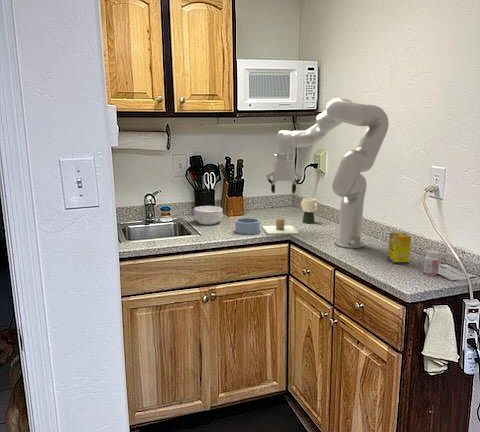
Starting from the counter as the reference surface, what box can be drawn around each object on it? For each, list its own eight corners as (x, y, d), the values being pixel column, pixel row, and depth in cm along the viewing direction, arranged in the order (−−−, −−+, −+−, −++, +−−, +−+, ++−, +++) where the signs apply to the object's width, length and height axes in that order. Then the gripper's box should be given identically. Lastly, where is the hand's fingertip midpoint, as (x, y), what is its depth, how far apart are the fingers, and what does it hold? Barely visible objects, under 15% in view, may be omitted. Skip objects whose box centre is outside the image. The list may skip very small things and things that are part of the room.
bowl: (261, 235, 212) (262, 223, 211) (236, 235, 211) (236, 223, 210) (257, 229, 224) (258, 217, 223) (233, 229, 223) (234, 218, 222)
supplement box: (387, 259, 177) (389, 232, 174) (402, 259, 177) (404, 232, 175) (393, 264, 171) (395, 236, 169) (408, 264, 171) (411, 236, 169)
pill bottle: (433, 277, 157) (435, 254, 155) (420, 273, 160) (422, 250, 159) (440, 274, 159) (443, 251, 158) (428, 271, 163) (430, 248, 161)
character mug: (320, 224, 238) (322, 199, 235) (312, 226, 233) (313, 201, 230) (304, 220, 245) (305, 197, 243) (296, 222, 241) (297, 198, 238)
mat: (300, 235, 213) (300, 234, 212) (266, 236, 211) (266, 235, 211) (292, 228, 228) (292, 226, 228) (261, 228, 226) (261, 227, 226)
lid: (298, 234, 213) (299, 222, 212) (267, 234, 211) (267, 222, 210) (291, 227, 227) (292, 215, 226) (262, 227, 226) (262, 216, 225)
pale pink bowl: (222, 226, 231) (222, 211, 229) (192, 226, 230) (192, 210, 229) (223, 220, 246) (223, 205, 244) (195, 219, 245) (194, 205, 244)
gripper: (267, 157, 209) (266, 194, 213) (304, 158, 211) (302, 194, 214) (265, 156, 216) (264, 191, 220) (300, 156, 218) (299, 191, 221)
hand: (283, 192), depth 217 cm, fingers open, 9 cm apart
